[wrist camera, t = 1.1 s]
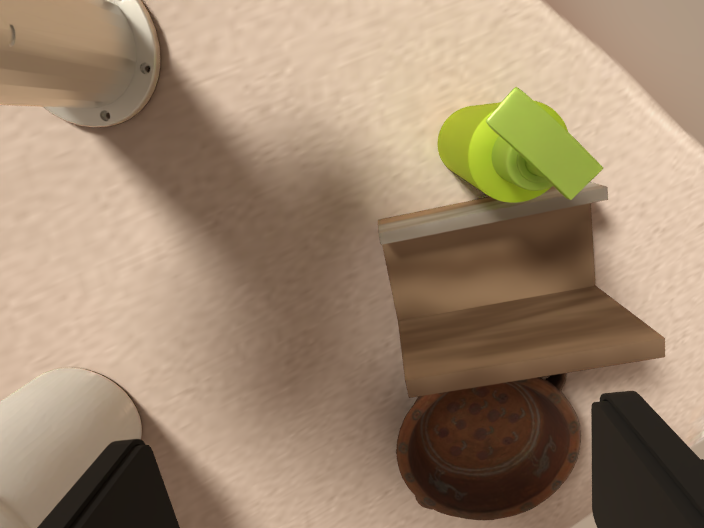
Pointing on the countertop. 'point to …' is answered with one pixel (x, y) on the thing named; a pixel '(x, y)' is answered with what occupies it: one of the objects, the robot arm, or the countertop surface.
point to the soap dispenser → (515, 150)
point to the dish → (489, 447)
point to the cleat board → (505, 293)
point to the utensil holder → (56, 438)
